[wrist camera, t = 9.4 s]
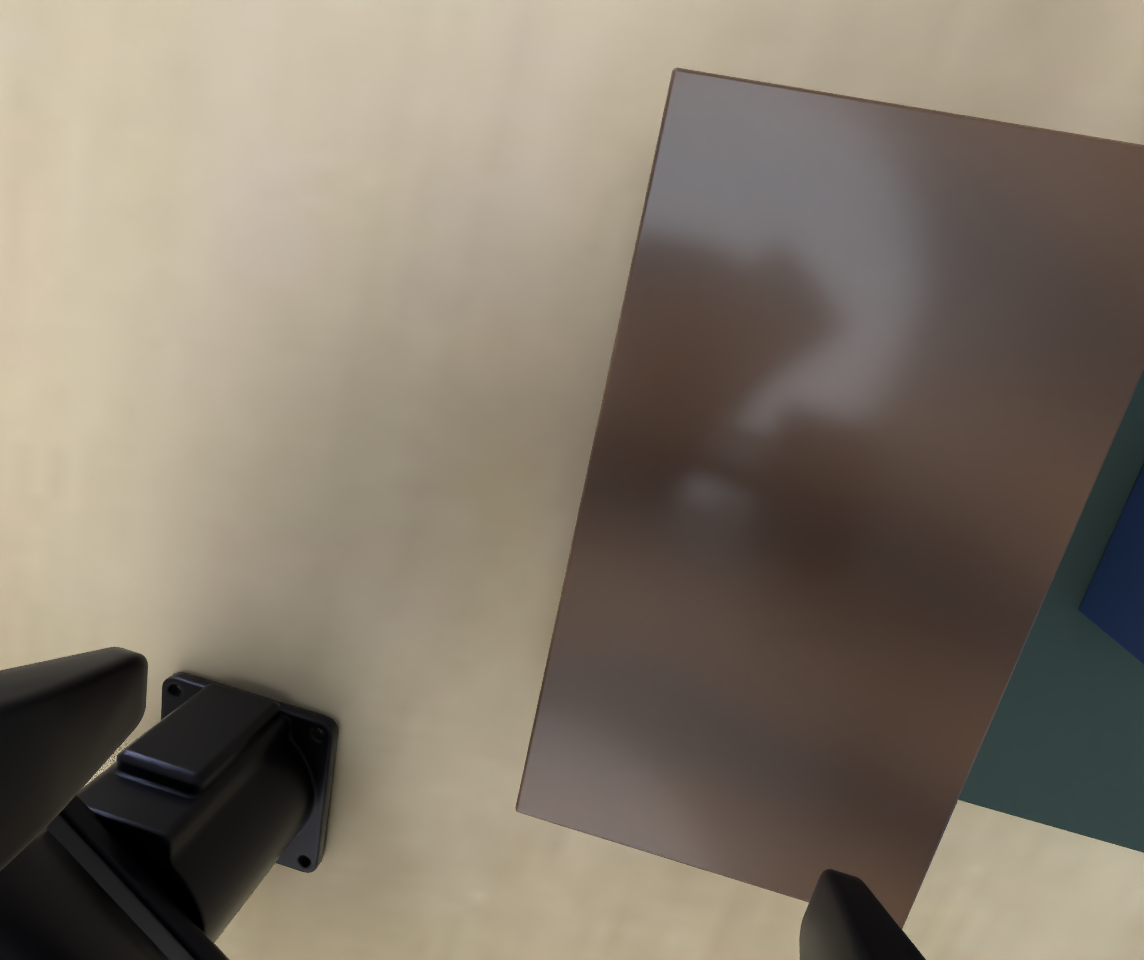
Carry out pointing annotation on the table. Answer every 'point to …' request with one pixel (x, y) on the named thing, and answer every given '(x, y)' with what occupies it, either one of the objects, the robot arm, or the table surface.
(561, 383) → the table surface
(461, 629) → the table surface
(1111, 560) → the box
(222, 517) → the table surface
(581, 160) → the table surface
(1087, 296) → the shelf
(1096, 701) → the mat
